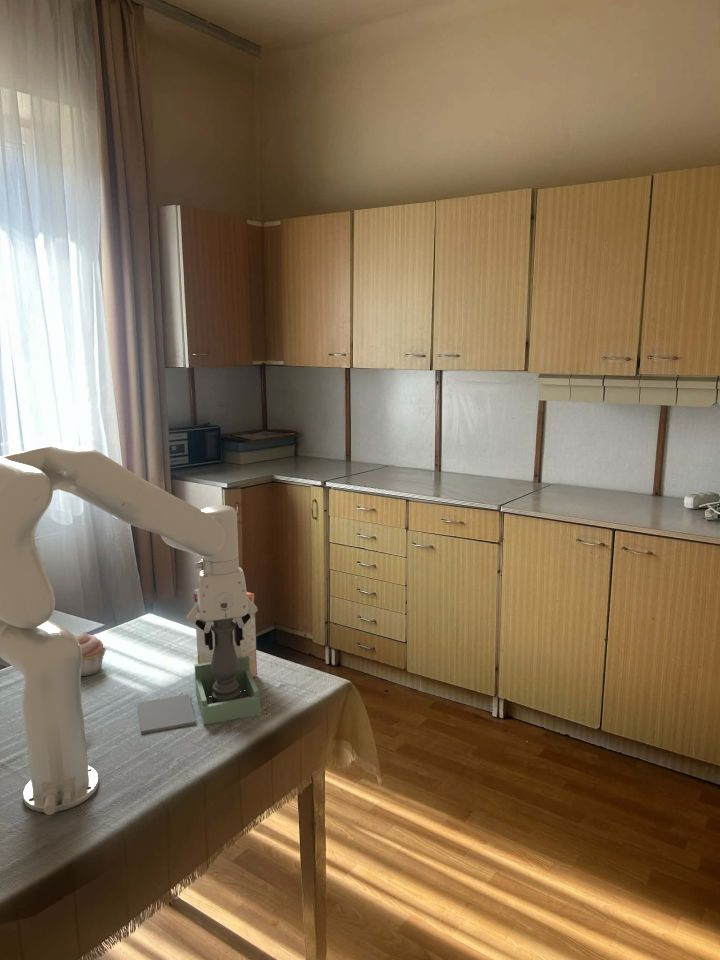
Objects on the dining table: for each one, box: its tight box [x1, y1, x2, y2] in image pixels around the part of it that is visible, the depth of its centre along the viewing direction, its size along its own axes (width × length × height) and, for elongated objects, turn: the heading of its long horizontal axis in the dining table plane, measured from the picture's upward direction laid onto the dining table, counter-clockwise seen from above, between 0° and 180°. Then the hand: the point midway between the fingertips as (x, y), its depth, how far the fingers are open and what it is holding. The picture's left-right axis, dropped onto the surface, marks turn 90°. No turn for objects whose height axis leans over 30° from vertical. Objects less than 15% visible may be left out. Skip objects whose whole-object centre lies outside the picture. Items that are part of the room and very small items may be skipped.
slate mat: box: [137, 693, 197, 735], centre depth 156 cm, size 12×11×1 cm
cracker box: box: [193, 587, 258, 678], centre depth 172 cm, size 14×6×21 cm, turn 58°
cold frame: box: [194, 656, 261, 726], centre depth 159 cm, size 12×12×8 cm
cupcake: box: [75, 631, 107, 677], centre depth 175 cm, size 9×9×10 cm
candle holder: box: [211, 603, 242, 704], centre depth 157 cm, size 6×6×25 cm
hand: (224, 644), depth 156 cm, fingers closed on candle holder, 5 cm apart
